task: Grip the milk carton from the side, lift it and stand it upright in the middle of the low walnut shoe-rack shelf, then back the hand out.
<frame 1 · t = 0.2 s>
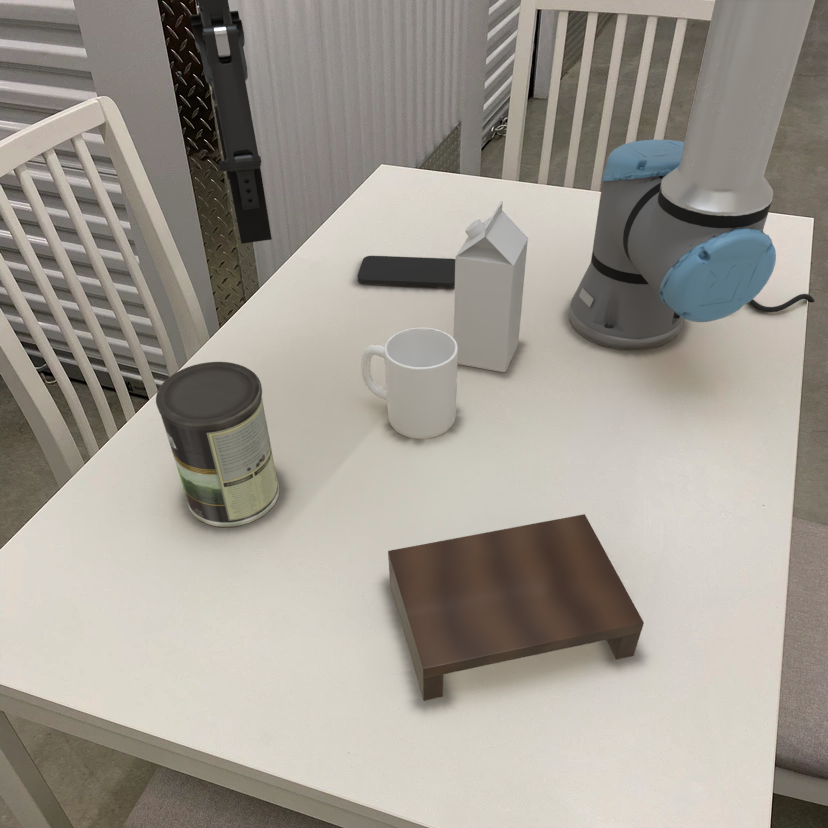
hand: (248, 206, 77), 28 cm above the table, tool pointing down, fingers open, 13 cm apart
milk carton: (485, 355, 109), on the table
phone: (409, 275, 123), on the table
shelf: (506, 618, 79), on the table
coffee can: (234, 496, 91), on the table
cup: (408, 416, 100), on the table
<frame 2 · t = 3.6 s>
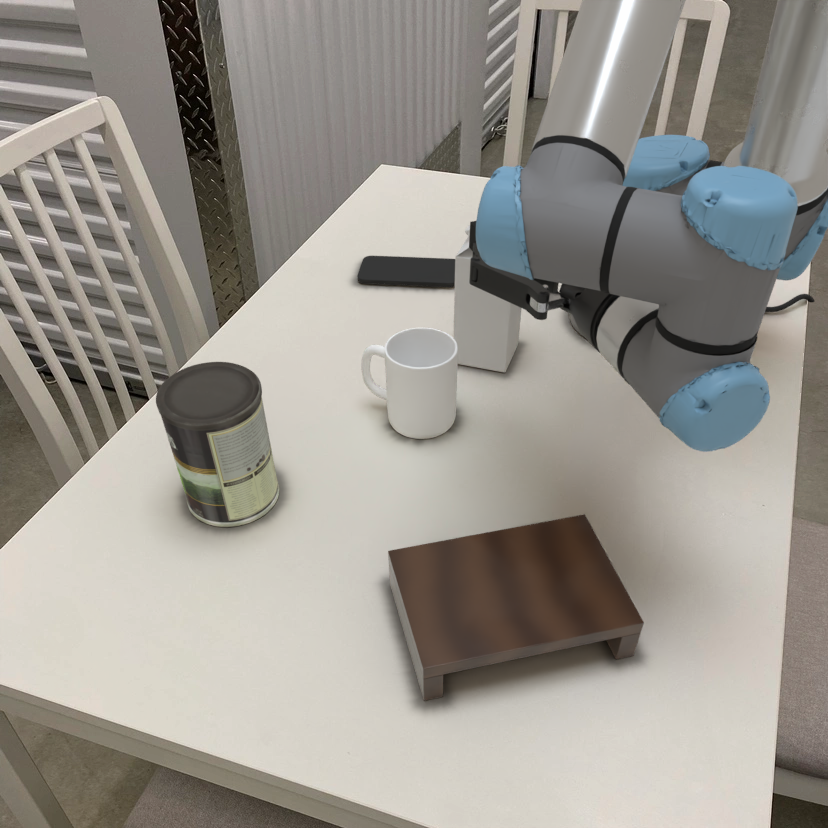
hand: (532, 225, 87), 22 cm above the table, tool horizontal, fingers open, 13 cm apart
nothing on the table moved.
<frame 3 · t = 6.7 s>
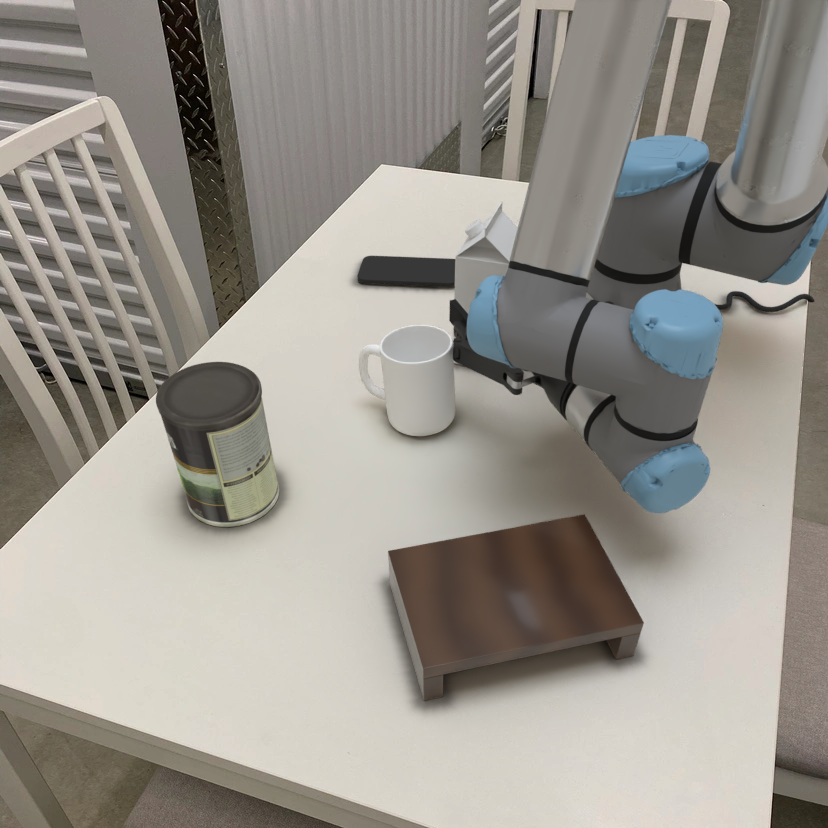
hand: (504, 297, 98), 10 cm above the table, tool horizontal, fingers open, 13 cm apart
cup: (408, 415, 100), on the table, touching gripper
everything else where it was.
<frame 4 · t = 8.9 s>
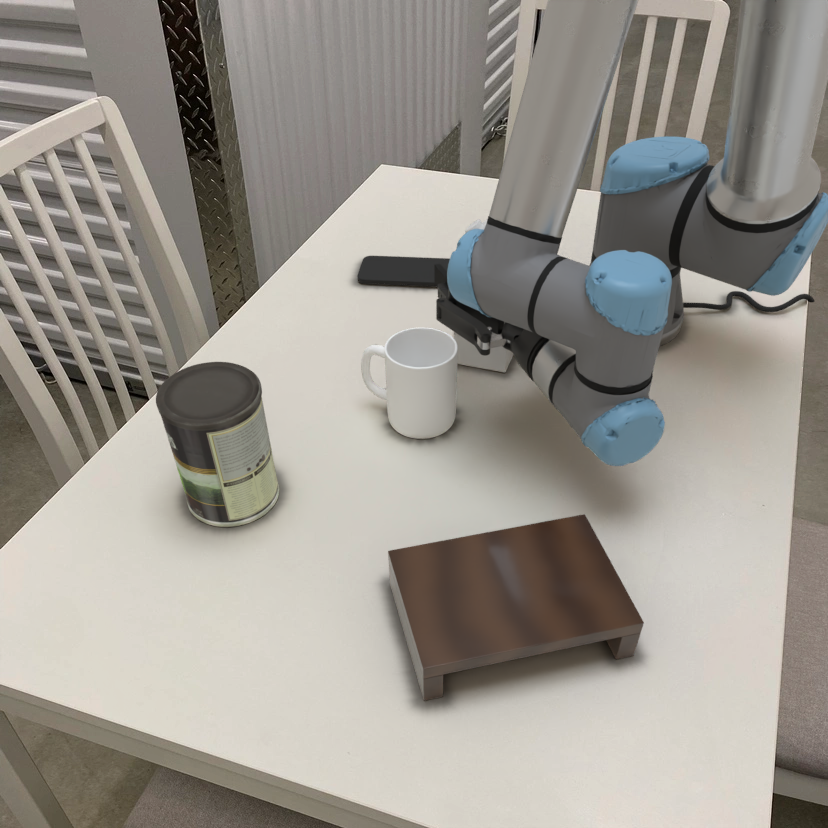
hand: (475, 265, 104), 10 cm above the table, tool horizontal, fingers closed on milk carton, 10 cm apart
milk carton: (486, 355, 109), on the table, touching gripper
cup: (408, 416, 100), on the table
everything else where it was.
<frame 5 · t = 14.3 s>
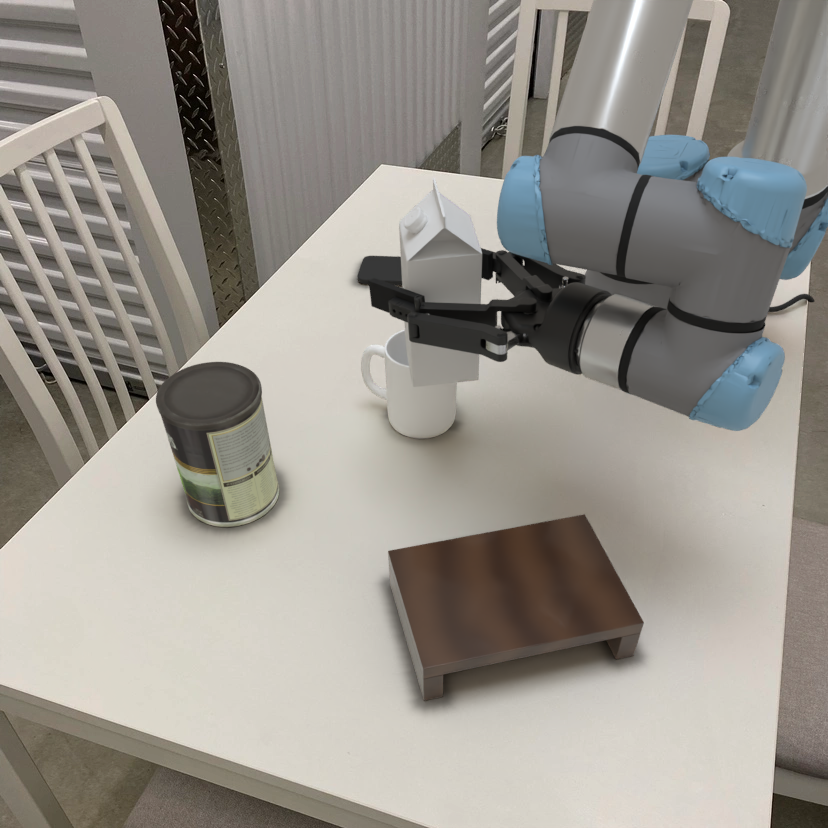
hand: (407, 270, 83), 20 cm above the table, tool horizontal, fingers closed on milk carton, 10 cm apart
milk carton: (441, 366, 89), point 10 cm above the table, touching gripper
everything else where it was.
when the fingers open (16 cm above the table, at t = 20.1 s): milk carton stays where it is, resting on shelf.
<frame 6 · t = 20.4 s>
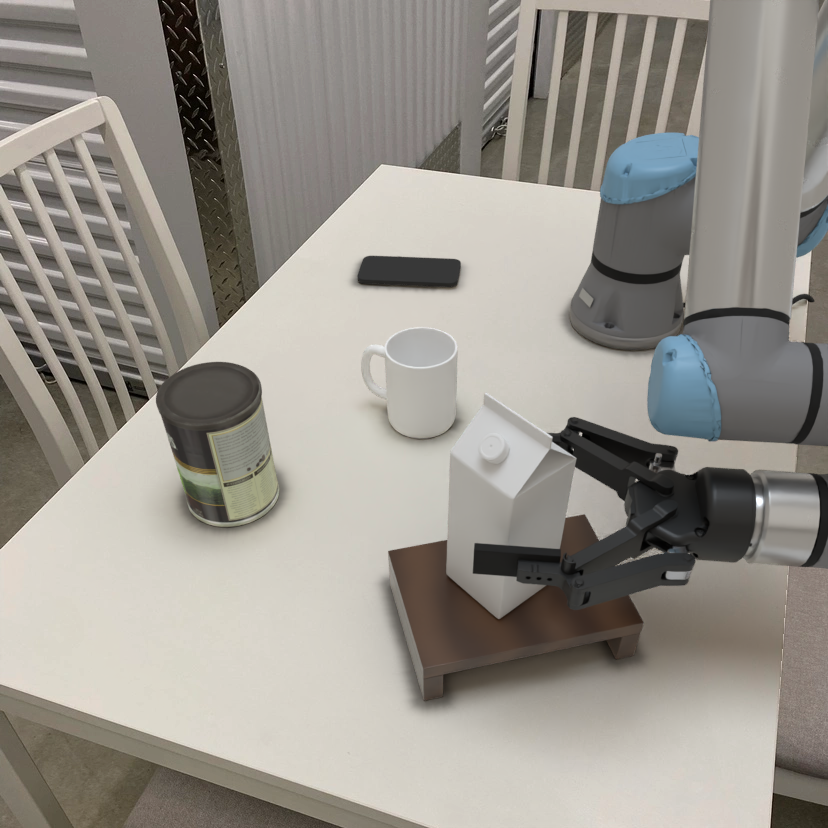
hand: (478, 498, 67), 16 cm above the table, tool horizontal, fingers open, 13 cm apart
milk carton: (499, 579, 76), point 5 cm above the table, touching shelf
everything else where it was.
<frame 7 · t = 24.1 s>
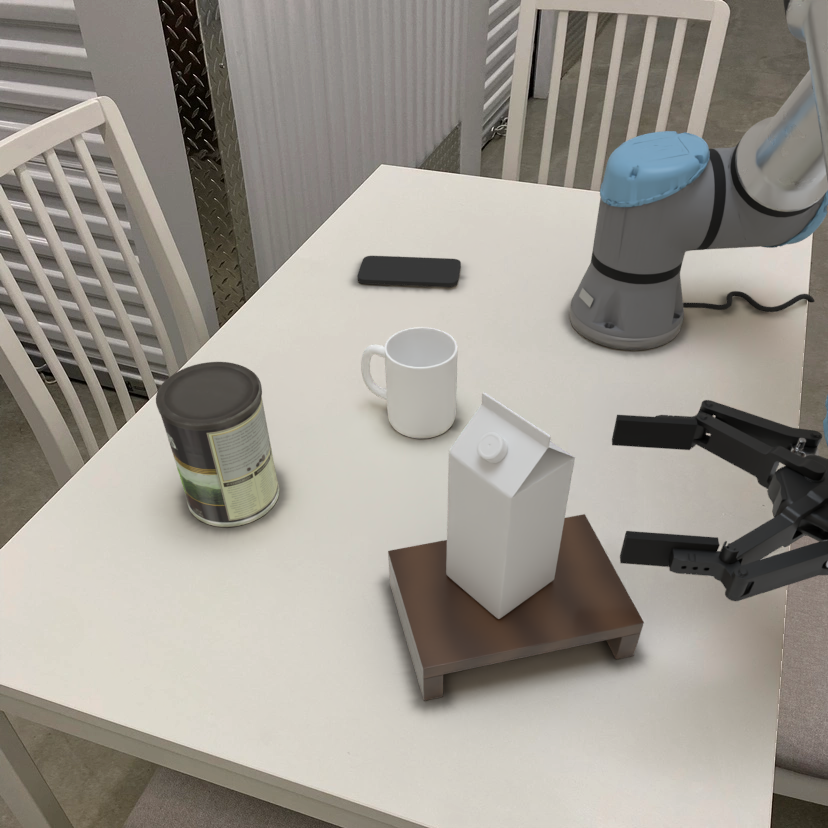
hand: (617, 484, 65), 18 cm above the table, tool horizontal, fingers open, 13 cm apart
nothing on the table moved.
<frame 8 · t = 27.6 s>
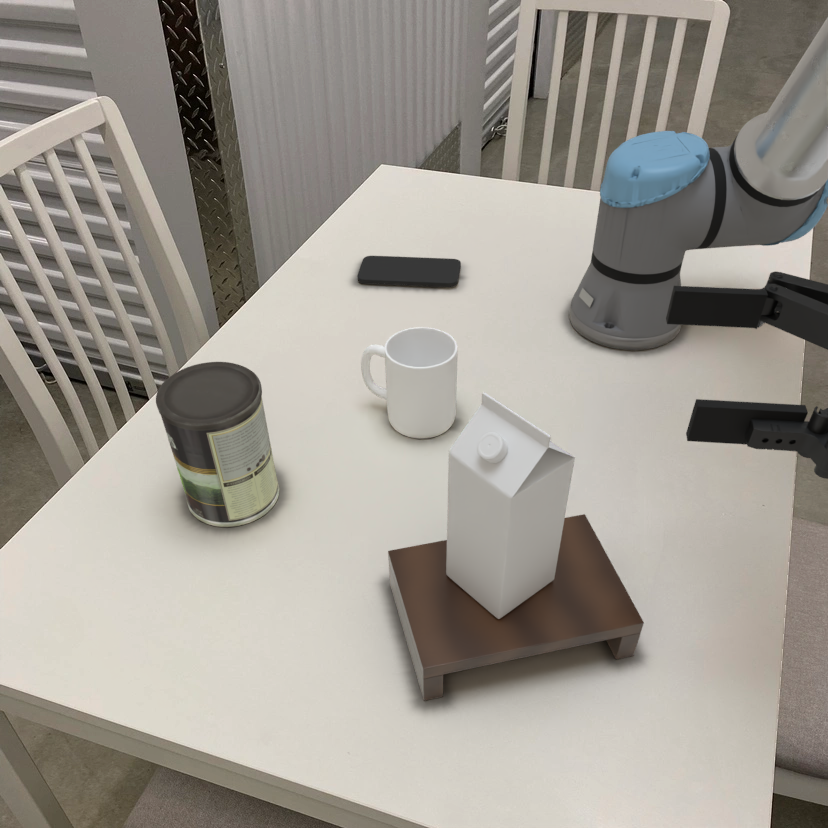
hand: (679, 358, 56), 30 cm above the table, tool horizontal, fingers open, 13 cm apart
nothing on the table moved.
at the end: milk carton inside the target area on the shelf (1.2 cm from its centre), point 4.8 cm above the shelf's base; milk carton tilted 0°; the gripper is holding nothing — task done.
